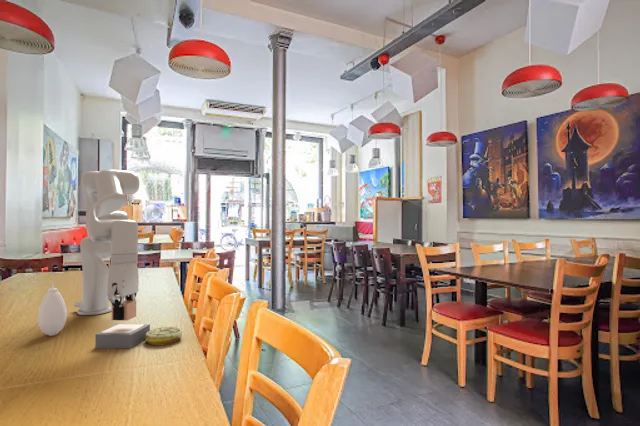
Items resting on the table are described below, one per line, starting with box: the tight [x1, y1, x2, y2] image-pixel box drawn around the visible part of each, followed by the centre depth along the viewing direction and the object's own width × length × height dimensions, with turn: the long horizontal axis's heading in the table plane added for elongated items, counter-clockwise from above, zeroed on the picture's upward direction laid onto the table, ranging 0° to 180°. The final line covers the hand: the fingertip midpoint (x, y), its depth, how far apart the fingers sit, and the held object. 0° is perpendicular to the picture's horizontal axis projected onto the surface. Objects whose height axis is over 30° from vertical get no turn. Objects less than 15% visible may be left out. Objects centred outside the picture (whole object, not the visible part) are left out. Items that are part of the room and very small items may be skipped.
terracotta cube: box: [111, 300, 137, 321], centre depth 117 cm, size 5×5×5 cm
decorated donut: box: [145, 326, 183, 346], centre depth 118 cm, size 10×11×4 cm
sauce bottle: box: [37, 281, 68, 337], centre depth 124 cm, size 8×8×18 cm
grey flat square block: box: [94, 323, 151, 349], centre depth 117 cm, size 11×11×4 cm
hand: (124, 316), depth 117 cm, fingers closed on terracotta cube, 5 cm apart
